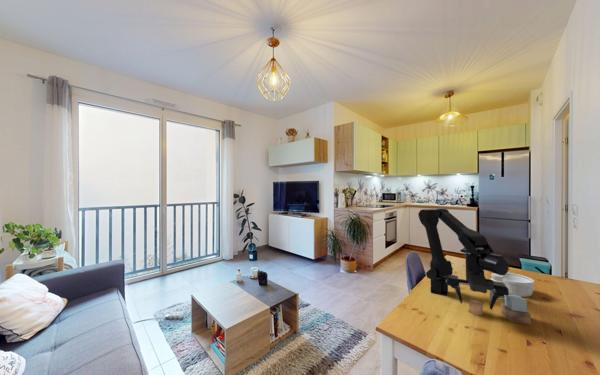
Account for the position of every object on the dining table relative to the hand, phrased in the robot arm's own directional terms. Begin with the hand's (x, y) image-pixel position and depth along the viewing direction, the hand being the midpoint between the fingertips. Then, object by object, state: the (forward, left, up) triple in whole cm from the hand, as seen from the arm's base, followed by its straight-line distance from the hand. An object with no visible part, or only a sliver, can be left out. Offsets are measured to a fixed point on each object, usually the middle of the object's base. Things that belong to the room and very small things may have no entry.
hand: (475, 306), depth 87 cm
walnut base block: (+12, +2, -3) cm, 12 cm away
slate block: (+12, +2, +1) cm, 12 cm away
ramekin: (+19, +31, -3) cm, 36 cm away
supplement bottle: (+11, +21, -3) cm, 24 cm away
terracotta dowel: (0, 0, -2) cm, 3 cm away
